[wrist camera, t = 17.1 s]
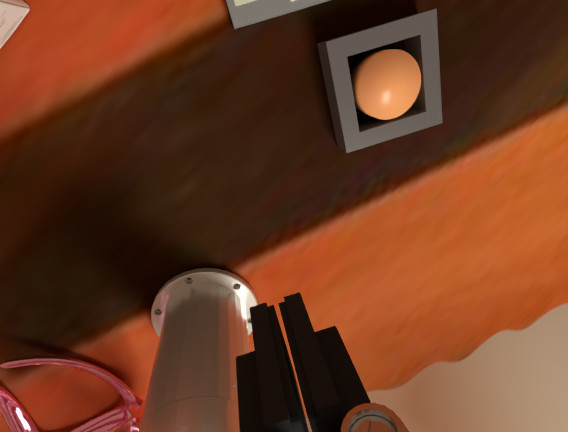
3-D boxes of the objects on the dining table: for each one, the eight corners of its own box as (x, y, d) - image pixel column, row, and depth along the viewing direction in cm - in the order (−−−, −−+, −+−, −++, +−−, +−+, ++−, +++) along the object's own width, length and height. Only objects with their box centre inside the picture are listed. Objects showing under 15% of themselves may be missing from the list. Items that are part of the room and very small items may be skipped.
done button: (410, 105, 35) (423, 109, 32) (354, 123, 34) (363, 127, 32) (404, 41, 32) (418, 40, 30) (343, 60, 32) (353, 60, 29)
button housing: (425, 118, 36) (442, 122, 34) (337, 146, 36) (346, 153, 33) (418, 12, 32) (436, 8, 29) (316, 43, 31) (325, 42, 29)
